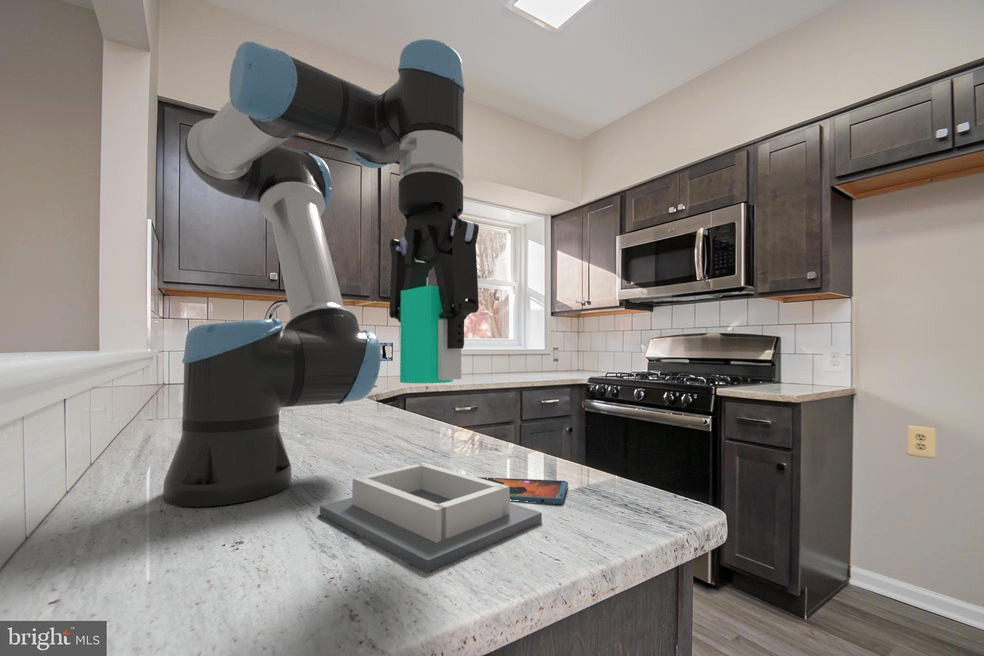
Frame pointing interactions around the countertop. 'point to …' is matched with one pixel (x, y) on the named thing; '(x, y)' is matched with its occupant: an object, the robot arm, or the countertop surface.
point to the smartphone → (534, 489)
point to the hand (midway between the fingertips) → (430, 377)
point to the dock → (429, 513)
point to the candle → (420, 335)
